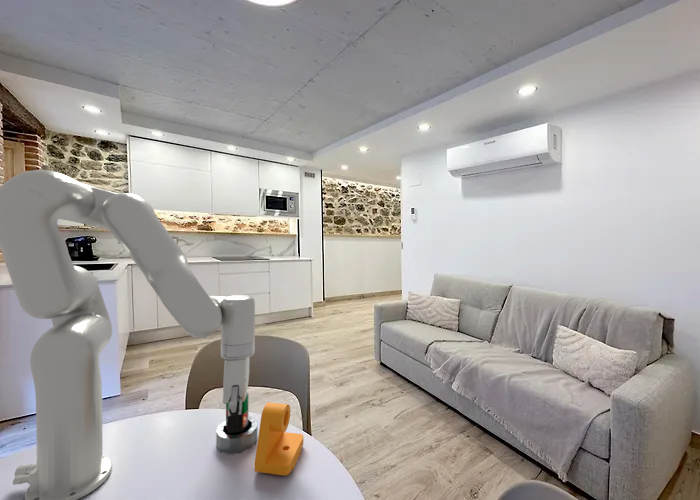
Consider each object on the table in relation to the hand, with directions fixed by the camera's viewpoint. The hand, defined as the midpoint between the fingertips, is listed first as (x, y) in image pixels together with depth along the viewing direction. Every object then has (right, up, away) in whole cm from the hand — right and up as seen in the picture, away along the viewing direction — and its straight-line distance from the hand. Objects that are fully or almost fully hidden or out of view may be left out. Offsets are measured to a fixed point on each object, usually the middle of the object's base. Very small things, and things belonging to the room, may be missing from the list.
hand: (237, 419), depth 74 cm
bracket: (+12, -6, -6) cm, 14 cm away
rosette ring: (0, -5, 0) cm, 5 cm away
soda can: (0, -6, 0) cm, 6 cm away
